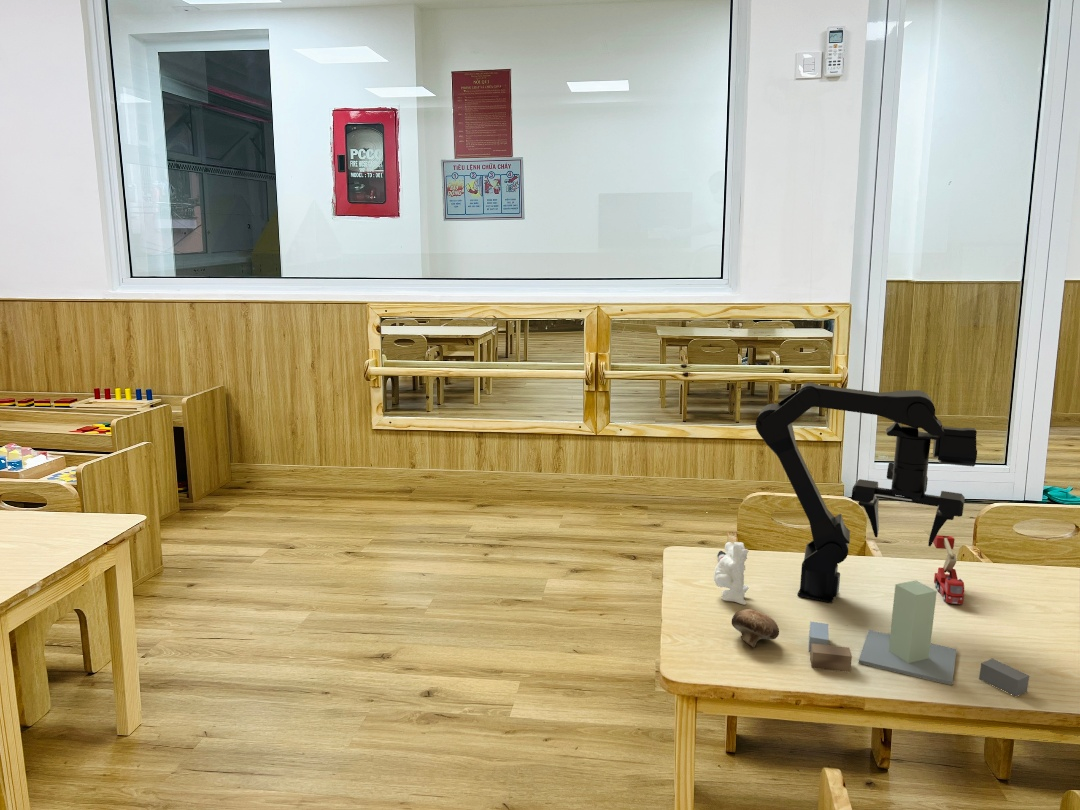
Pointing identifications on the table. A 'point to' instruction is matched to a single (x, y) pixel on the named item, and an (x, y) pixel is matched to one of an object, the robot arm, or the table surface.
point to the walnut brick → (830, 657)
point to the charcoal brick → (1004, 677)
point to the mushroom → (754, 626)
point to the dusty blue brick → (818, 634)
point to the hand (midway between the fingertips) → (902, 541)
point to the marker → (721, 555)
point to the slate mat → (931, 669)
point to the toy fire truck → (949, 582)
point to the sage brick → (912, 621)
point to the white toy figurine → (732, 572)
